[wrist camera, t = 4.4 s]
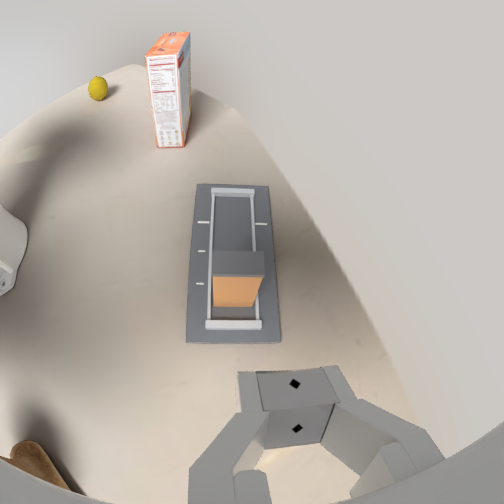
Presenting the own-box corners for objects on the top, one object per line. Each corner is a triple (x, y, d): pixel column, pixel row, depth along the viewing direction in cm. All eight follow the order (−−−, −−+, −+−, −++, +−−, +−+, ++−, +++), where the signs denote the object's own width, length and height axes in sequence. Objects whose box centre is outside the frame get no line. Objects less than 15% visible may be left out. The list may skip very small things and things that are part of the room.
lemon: (111, 93, 61) (107, 70, 54) (107, 103, 59) (102, 78, 52) (94, 97, 60) (89, 74, 53) (89, 107, 58) (83, 83, 51)
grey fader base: (279, 343, 35) (282, 340, 34) (186, 343, 34) (184, 340, 32) (266, 189, 48) (268, 182, 46) (197, 186, 46) (196, 179, 45)
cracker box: (167, 112, 57) (162, 32, 39) (192, 111, 58) (192, 30, 40) (155, 149, 50) (142, 54, 32) (184, 148, 51) (180, 51, 33)
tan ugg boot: (3, 450, 19) (-60, 450, 6) (44, 433, 23) (-26, 435, 10) (53, 531, 14) (3, 558, 1) (102, 522, 18) (55, 562, 5)
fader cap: (252, 307, 36) (265, 274, 27) (213, 307, 36) (211, 274, 27) (252, 289, 38) (263, 251, 29) (213, 288, 37) (212, 250, 28)
